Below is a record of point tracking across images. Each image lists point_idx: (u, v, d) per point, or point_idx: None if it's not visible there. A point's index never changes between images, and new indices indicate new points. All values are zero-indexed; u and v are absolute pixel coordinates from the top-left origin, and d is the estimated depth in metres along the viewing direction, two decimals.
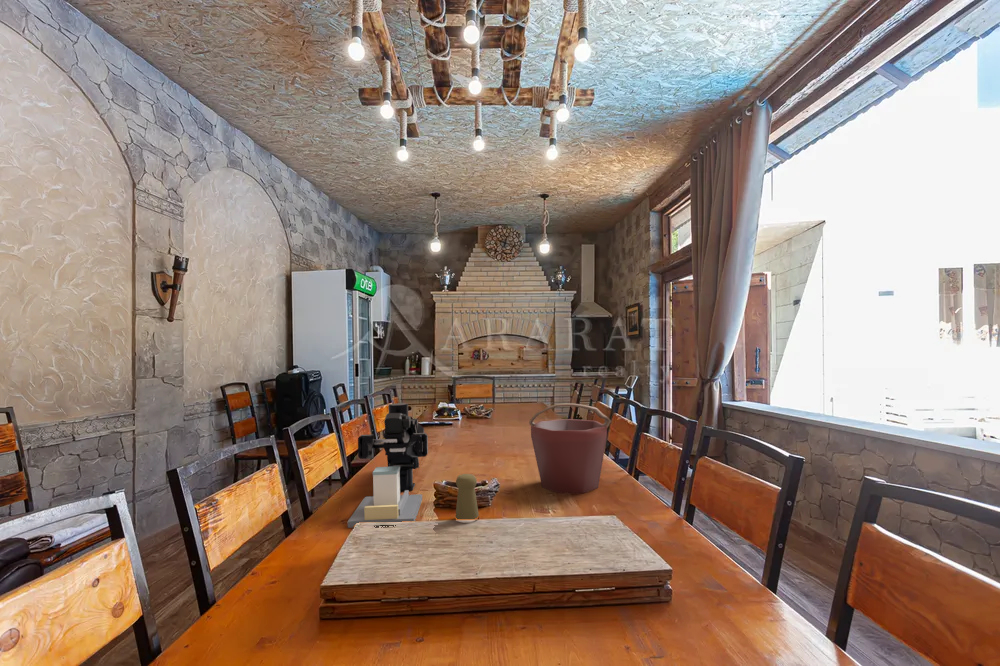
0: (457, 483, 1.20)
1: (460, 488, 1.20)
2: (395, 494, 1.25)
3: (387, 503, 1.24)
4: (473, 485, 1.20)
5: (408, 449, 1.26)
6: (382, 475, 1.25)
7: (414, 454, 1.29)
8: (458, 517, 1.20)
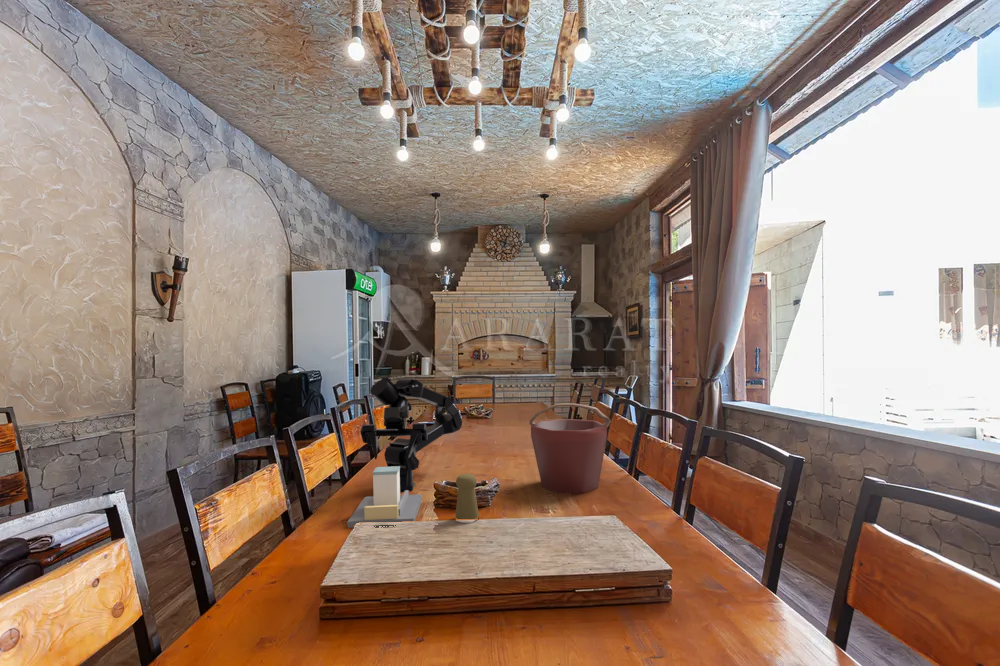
0: (457, 483, 1.20)
1: (460, 488, 1.20)
2: (395, 494, 1.25)
3: (387, 503, 1.24)
4: (473, 485, 1.20)
5: (409, 453, 1.36)
6: (382, 475, 1.25)
7: (415, 446, 1.40)
8: (458, 517, 1.20)
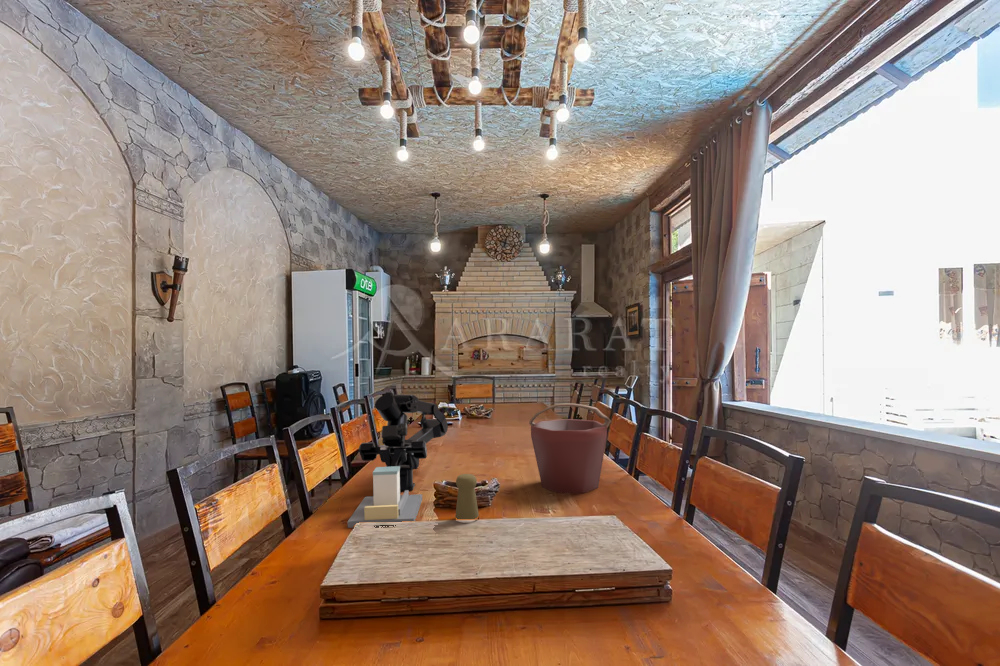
0: (457, 483, 1.20)
1: (460, 488, 1.20)
2: (395, 494, 1.25)
3: (387, 503, 1.24)
4: (473, 485, 1.20)
5: None
6: (382, 475, 1.25)
7: (399, 465, 1.38)
8: (458, 517, 1.20)
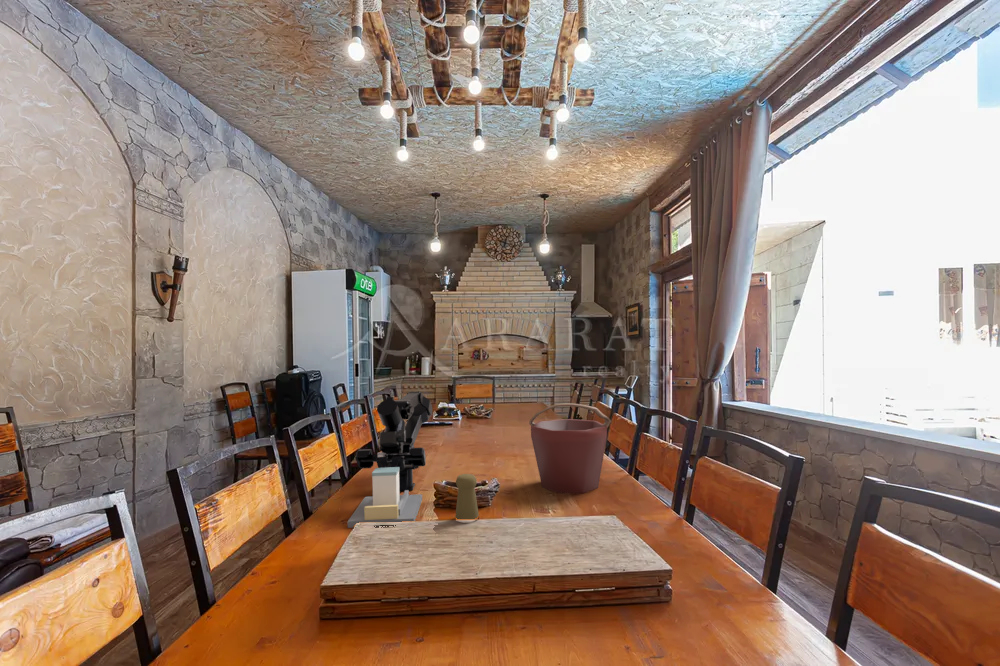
0: (457, 483, 1.20)
1: (460, 488, 1.20)
2: (394, 495, 1.24)
3: (386, 504, 1.24)
4: (473, 485, 1.20)
5: None
6: (382, 476, 1.24)
7: None
8: (458, 517, 1.20)
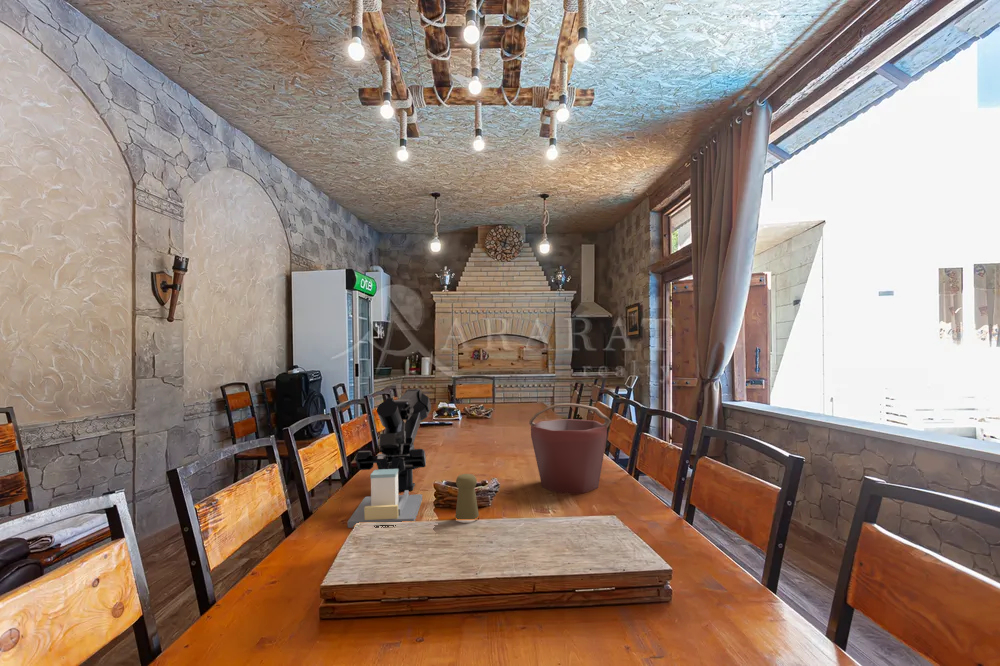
0: (457, 483, 1.20)
1: (460, 488, 1.20)
2: (393, 497, 1.22)
3: None
4: (473, 485, 1.20)
5: None
6: (380, 478, 1.22)
7: None
8: (458, 517, 1.20)
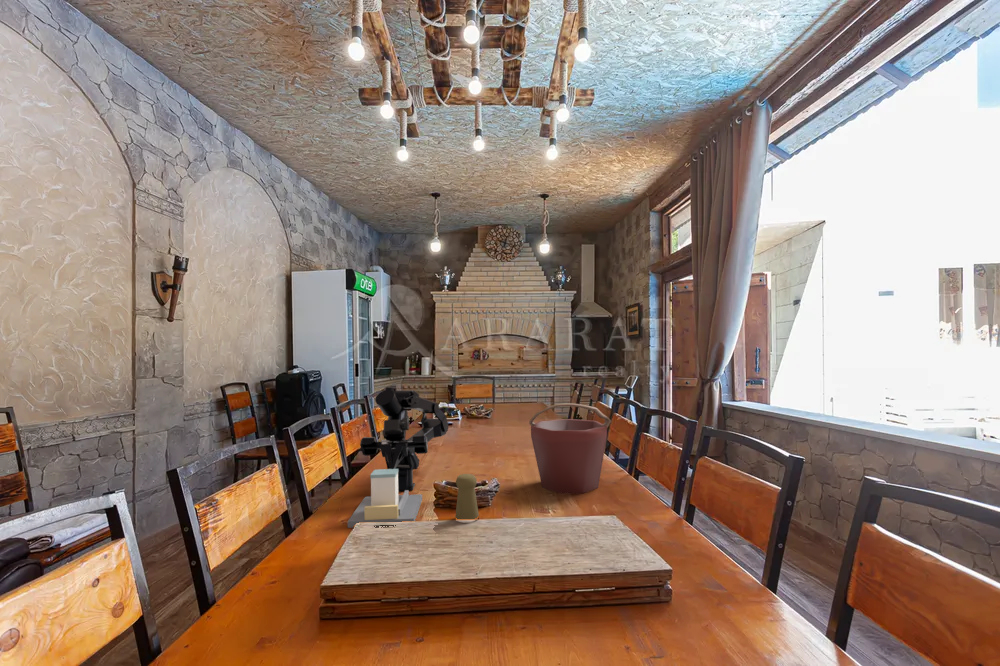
0: (457, 483, 1.20)
1: (460, 488, 1.20)
2: (393, 497, 1.22)
3: None
4: (473, 485, 1.20)
5: (394, 466, 1.35)
6: (380, 478, 1.22)
7: (400, 459, 1.39)
8: (458, 517, 1.20)
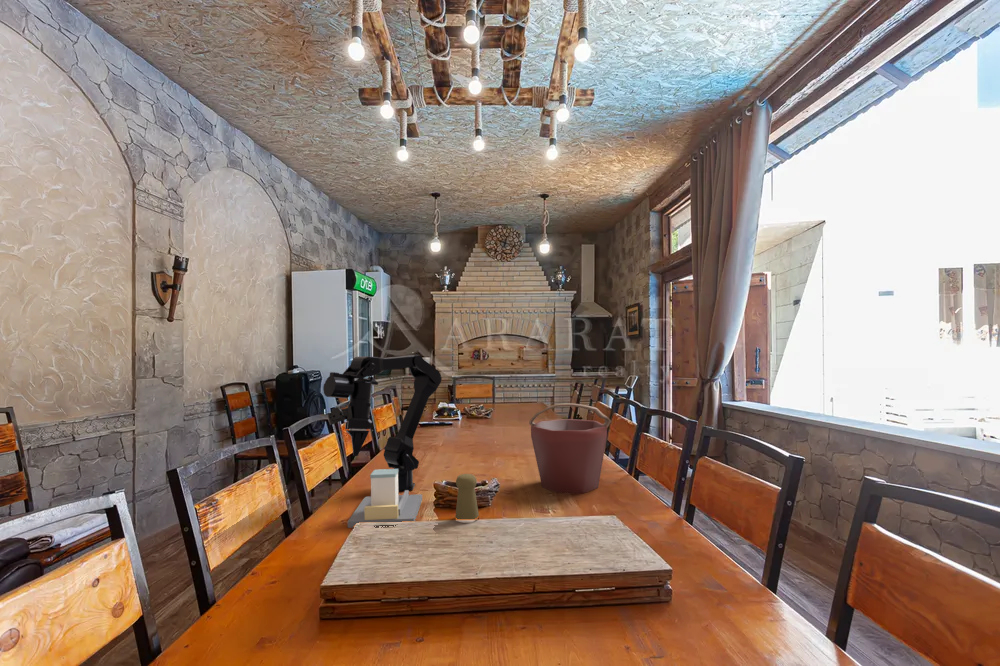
0: (457, 483, 1.20)
1: (460, 488, 1.20)
2: (393, 497, 1.22)
3: None
4: (473, 485, 1.20)
5: (354, 451, 1.34)
6: (380, 478, 1.22)
7: (363, 439, 1.35)
8: (458, 517, 1.20)
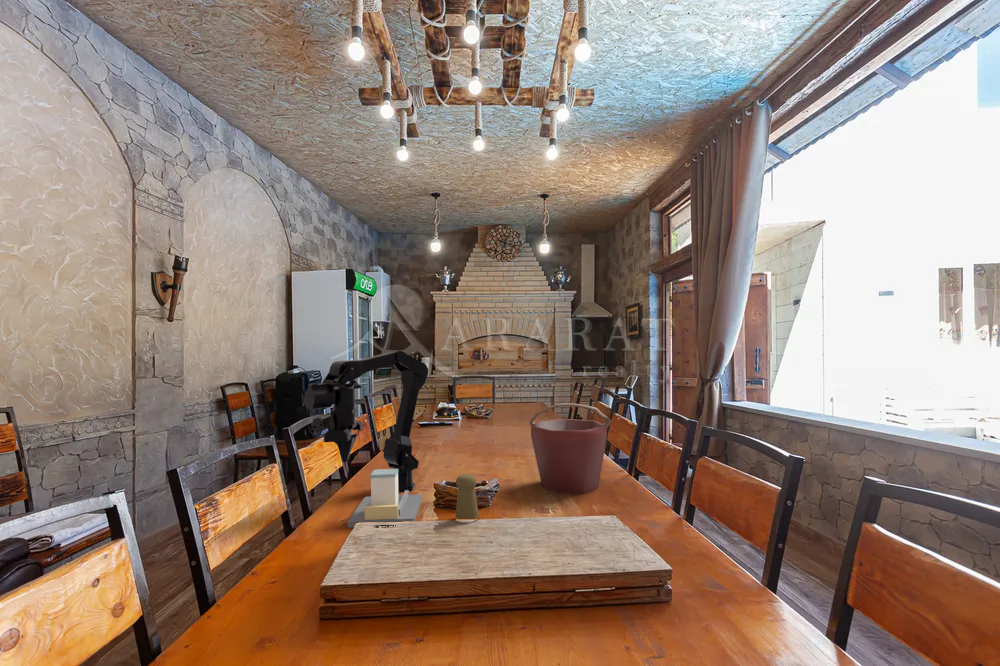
0: (457, 483, 1.20)
1: (460, 488, 1.20)
2: (393, 497, 1.22)
3: None
4: (473, 485, 1.20)
5: (342, 458, 1.34)
6: (380, 478, 1.22)
7: (349, 446, 1.33)
8: (458, 517, 1.20)
